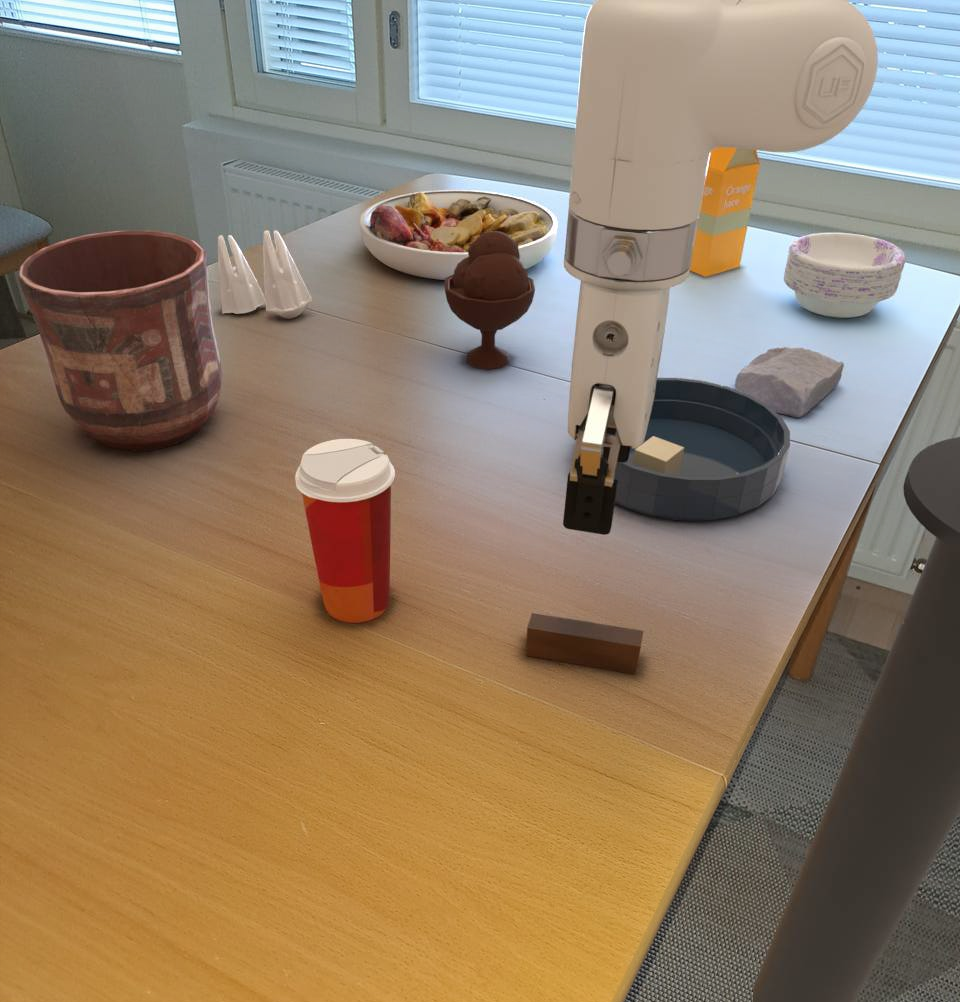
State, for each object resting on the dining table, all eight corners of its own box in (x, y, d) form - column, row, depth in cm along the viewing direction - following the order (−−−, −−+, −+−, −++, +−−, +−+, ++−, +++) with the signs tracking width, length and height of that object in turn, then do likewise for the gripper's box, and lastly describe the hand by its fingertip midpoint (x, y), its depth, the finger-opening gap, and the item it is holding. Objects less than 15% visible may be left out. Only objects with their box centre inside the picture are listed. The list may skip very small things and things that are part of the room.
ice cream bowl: (432, 347, 120) (430, 225, 111) (514, 337, 123) (519, 217, 113) (458, 384, 113) (459, 256, 103) (544, 371, 116) (553, 246, 106)
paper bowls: (765, 285, 138) (777, 229, 133) (867, 285, 139) (883, 229, 134) (795, 328, 127) (809, 268, 122) (906, 328, 128) (925, 268, 122)
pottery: (235, 457, 99) (205, 286, 87) (59, 473, 96) (4, 299, 84) (232, 382, 112) (205, 224, 100) (77, 394, 109) (30, 233, 97)
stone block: (725, 412, 112) (807, 421, 107) (725, 371, 110) (810, 379, 104) (766, 380, 120) (845, 388, 114) (768, 342, 117) (849, 348, 111)
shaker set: (315, 313, 128) (306, 228, 121) (302, 325, 125) (293, 238, 118) (234, 302, 130) (221, 218, 123) (220, 314, 127) (205, 228, 120)
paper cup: (371, 565, 85) (361, 425, 76) (418, 609, 81) (413, 466, 72) (294, 596, 82) (273, 454, 73) (339, 644, 77) (323, 498, 68)
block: (648, 466, 98) (653, 435, 96) (678, 478, 96) (684, 447, 94) (630, 480, 96) (634, 449, 94) (661, 493, 94) (666, 461, 92)
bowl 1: (483, 210, 162) (484, 160, 157) (595, 264, 144) (600, 209, 139) (327, 241, 149) (323, 188, 144) (428, 304, 131) (427, 246, 126)
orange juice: (705, 277, 141) (730, 128, 127) (663, 259, 146) (683, 115, 133) (740, 266, 144) (769, 120, 131) (698, 250, 149) (721, 108, 136)
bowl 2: (778, 432, 105) (789, 390, 102) (778, 538, 90) (791, 493, 86) (590, 408, 109) (594, 367, 106) (559, 506, 93) (563, 462, 90)
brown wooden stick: (638, 658, 77) (643, 630, 75) (635, 674, 75) (640, 646, 73) (530, 640, 78) (532, 612, 76) (525, 655, 77) (527, 627, 75)
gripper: (681, 305, 49) (635, 571, 60) (702, 207, 61) (661, 441, 73) (538, 288, 50) (520, 552, 61) (588, 195, 63) (565, 428, 74)
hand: (597, 492), depth 67 cm, fingers open, 9 cm apart
